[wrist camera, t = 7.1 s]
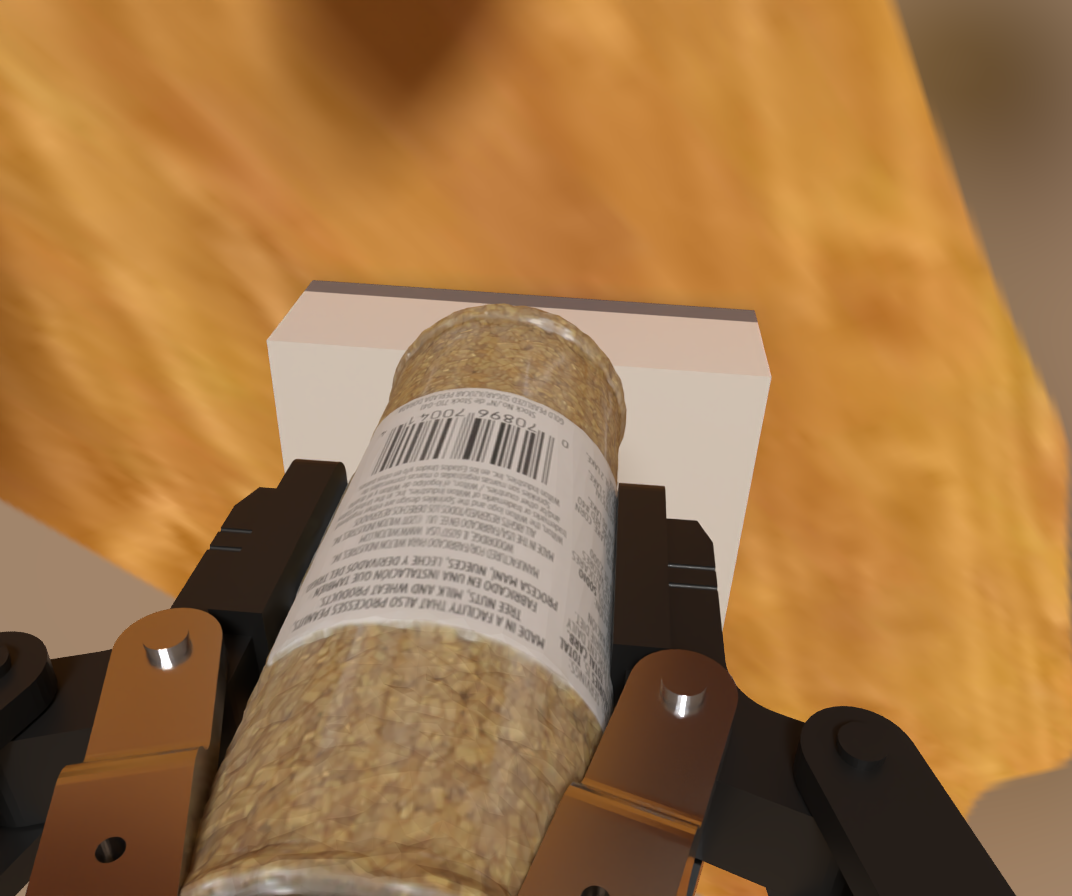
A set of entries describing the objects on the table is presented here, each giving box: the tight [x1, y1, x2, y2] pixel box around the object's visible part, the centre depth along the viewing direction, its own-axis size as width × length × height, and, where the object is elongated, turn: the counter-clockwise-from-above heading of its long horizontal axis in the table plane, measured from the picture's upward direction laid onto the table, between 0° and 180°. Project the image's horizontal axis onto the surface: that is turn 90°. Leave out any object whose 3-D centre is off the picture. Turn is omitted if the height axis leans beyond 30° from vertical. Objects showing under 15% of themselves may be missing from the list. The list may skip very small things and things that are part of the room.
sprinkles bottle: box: [179, 303, 627, 896], centre depth 12 cm, size 5×5×14 cm
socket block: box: [267, 280, 771, 631], centre depth 36 cm, size 16×16×5 cm
